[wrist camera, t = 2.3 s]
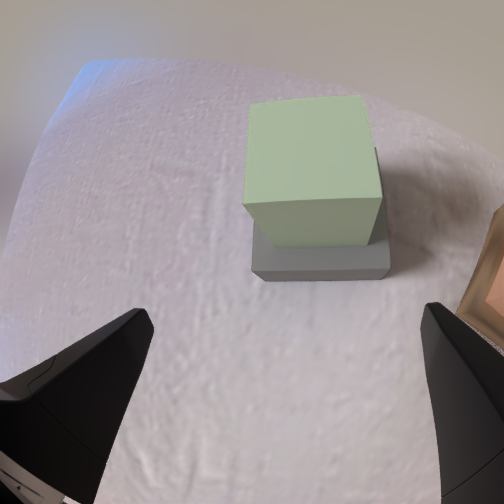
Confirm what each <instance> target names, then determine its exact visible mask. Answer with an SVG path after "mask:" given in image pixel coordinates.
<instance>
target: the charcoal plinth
mask: <svg viewBox="0 0 504 504" xmlns="http://www.w3.org/2000/svg"><path fill="white" fill-rule="evenodd" d="M374 149H375V154H376V159H377V165H378V171H379V177H380V184H381V190H382V201H381V204H380V207H379V210H378V214H377V217H376V220H375V223H374V226H373V229H372V232H371V235H370V238H369V241H368V244H367V246H338V247H300V248H274V247H273V245H272V244H271V242H270V241H269V240H268V238H267V237H266V236H265V234H264V233H263V231H262V230H261V229H260V227H259V226H258V224H257V223H256V222H255V220H254V229H253V248H252V268H251V271H252V272H253V273H255V274H256V275H257V276H259V277H260V278H261V279H263V280H264V281H348V280H381V279H382V278H383V277H384V276H385V275H386V273H387V272H388V271H389V270H390V269H391V263H390V248H389V236H388V226H387V217H386V208H385V200H384V193H383V186H382V180H381V174H380V168H379V162H378V156H377V151H376V147H374Z"/></svg>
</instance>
